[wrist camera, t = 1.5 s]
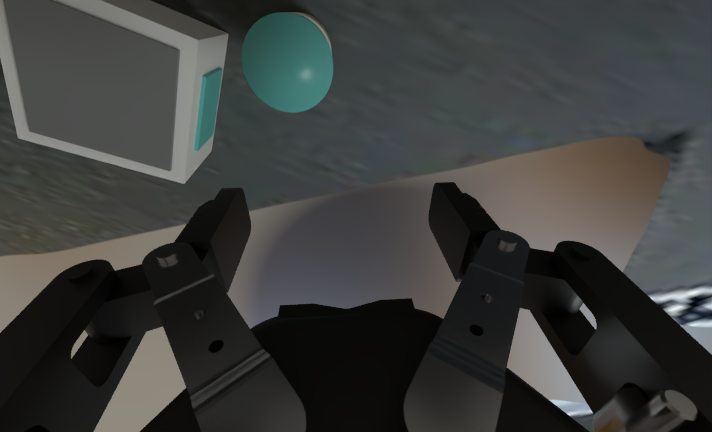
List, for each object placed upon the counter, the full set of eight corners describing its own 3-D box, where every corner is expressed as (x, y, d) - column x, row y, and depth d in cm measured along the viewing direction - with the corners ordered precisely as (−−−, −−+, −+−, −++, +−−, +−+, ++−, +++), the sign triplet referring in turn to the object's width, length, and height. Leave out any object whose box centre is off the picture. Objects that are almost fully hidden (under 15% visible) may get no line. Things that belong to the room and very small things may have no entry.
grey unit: (84, 111, 27) (14, 139, 21) (70, -34, 21) (-30, -52, 15) (214, 151, 30) (186, 186, 24) (232, 35, 24) (201, 42, 18)
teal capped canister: (260, 48, 25) (223, 68, 16) (296, -4, 23) (277, -14, 14) (306, 90, 27) (296, 129, 18) (342, 46, 26) (351, 64, 17)
